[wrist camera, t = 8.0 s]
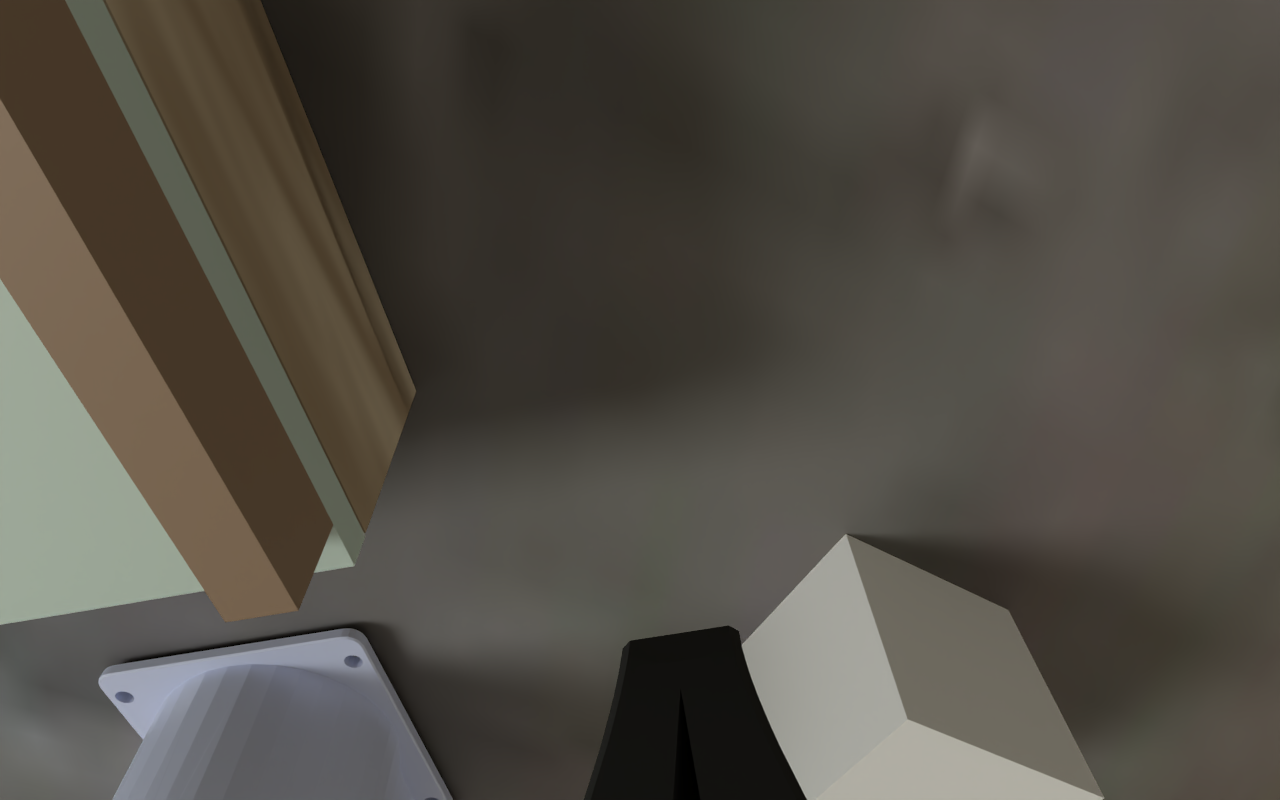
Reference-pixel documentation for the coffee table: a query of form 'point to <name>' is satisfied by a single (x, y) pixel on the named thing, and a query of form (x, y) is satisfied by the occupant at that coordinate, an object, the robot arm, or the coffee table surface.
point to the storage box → (277, 222)
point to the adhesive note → (908, 690)
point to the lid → (134, 359)
